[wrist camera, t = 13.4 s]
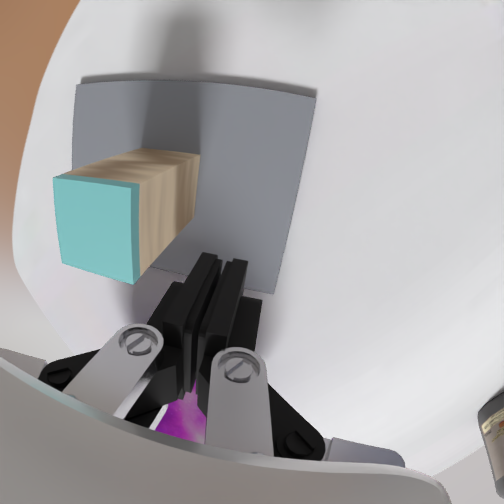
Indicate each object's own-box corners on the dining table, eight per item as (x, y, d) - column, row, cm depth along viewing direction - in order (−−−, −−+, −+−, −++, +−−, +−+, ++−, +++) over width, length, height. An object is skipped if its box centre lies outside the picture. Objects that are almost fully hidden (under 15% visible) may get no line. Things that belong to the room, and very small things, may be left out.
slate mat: (315, 99, 18) (316, 98, 18) (274, 290, 25) (273, 294, 25) (80, 84, 19) (76, 84, 19) (80, 244, 26) (77, 247, 26)
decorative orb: (127, 301, 29) (49, 408, 15) (267, 335, 28) (242, 479, 15) (140, 384, 36) (98, 471, 22) (246, 412, 35) (225, 512, 21)
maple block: (200, 154, 20) (131, 188, 12) (194, 217, 23) (133, 284, 14) (141, 148, 21) (52, 177, 12) (138, 206, 23) (62, 263, 14)
